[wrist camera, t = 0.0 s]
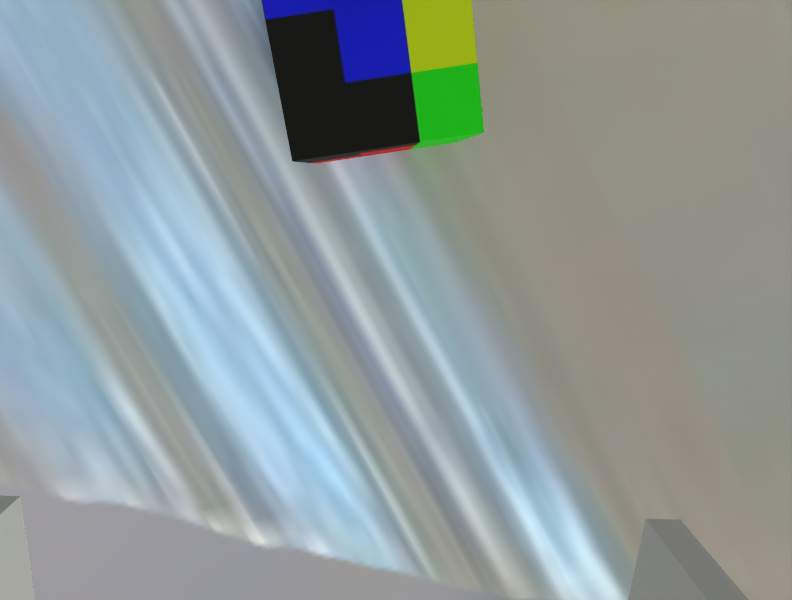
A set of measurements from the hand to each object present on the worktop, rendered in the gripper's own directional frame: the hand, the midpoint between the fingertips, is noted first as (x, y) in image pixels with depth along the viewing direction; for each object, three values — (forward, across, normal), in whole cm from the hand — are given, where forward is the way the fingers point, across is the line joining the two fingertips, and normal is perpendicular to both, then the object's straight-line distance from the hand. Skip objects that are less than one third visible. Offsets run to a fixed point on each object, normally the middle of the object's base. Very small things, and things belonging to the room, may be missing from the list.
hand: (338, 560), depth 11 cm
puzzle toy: (+28, 0, +14) cm, 32 cm away
